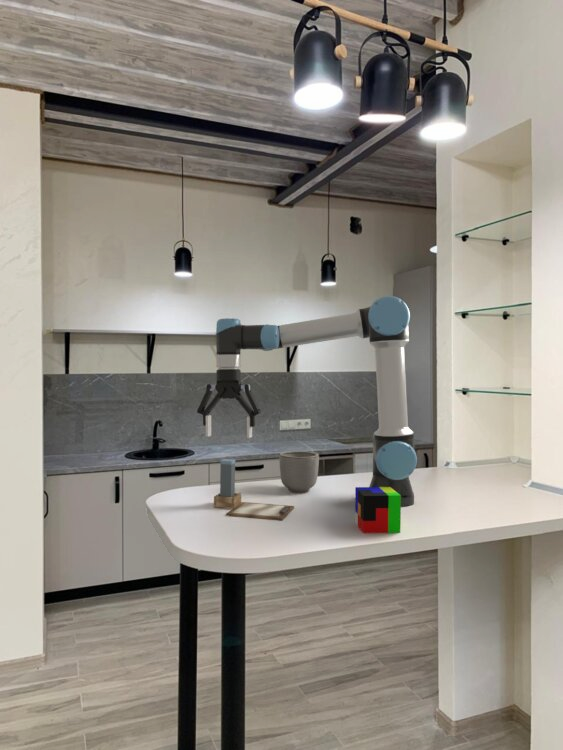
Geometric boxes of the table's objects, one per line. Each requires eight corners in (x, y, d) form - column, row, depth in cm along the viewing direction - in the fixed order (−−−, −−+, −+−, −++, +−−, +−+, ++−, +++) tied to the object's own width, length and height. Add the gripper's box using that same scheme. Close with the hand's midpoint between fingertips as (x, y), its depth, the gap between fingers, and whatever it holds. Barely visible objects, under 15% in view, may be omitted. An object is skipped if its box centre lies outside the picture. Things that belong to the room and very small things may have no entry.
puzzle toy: (355, 522, 155) (355, 487, 154) (389, 522, 155) (390, 486, 155) (363, 533, 145) (363, 495, 144) (400, 532, 145) (400, 495, 145)
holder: (241, 503, 174) (241, 493, 174) (234, 509, 167) (234, 498, 167) (221, 502, 175) (221, 491, 175) (213, 507, 169) (213, 496, 169)
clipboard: (294, 507, 169) (294, 503, 169) (282, 520, 156) (282, 515, 156) (242, 503, 174) (242, 499, 174) (226, 515, 160) (226, 510, 160)
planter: (272, 493, 188) (273, 455, 188) (287, 485, 201) (287, 449, 201) (311, 497, 183) (311, 458, 183) (323, 488, 196) (324, 452, 196)
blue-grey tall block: (234, 503, 172) (235, 459, 172) (230, 506, 169) (231, 461, 168) (223, 502, 173) (224, 458, 173) (219, 505, 169) (220, 460, 169)
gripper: (270, 368, 171) (270, 436, 171) (196, 368, 177) (196, 434, 178) (263, 368, 163) (263, 439, 164) (186, 368, 170) (186, 437, 170)
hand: (228, 436), depth 171 cm, fingers open, 13 cm apart
